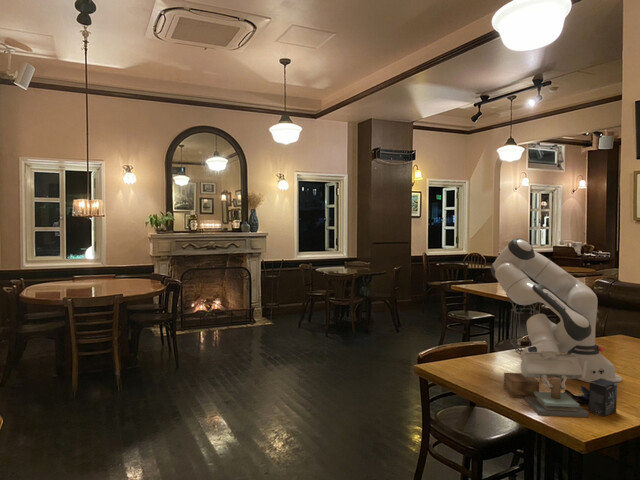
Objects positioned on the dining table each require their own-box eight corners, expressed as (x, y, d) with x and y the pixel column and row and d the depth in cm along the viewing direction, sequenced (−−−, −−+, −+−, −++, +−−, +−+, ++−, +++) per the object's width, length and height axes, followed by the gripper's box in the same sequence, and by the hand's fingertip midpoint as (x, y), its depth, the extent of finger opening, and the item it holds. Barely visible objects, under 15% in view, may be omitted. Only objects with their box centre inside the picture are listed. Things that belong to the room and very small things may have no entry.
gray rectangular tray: (571, 402, 168) (571, 398, 168) (588, 417, 155) (588, 412, 155) (525, 400, 170) (525, 396, 170) (538, 415, 157) (538, 410, 157)
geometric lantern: (547, 358, 225) (547, 287, 224) (513, 357, 227) (513, 287, 226) (536, 349, 241) (535, 282, 239) (504, 348, 243) (504, 282, 241)
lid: (565, 395, 167) (565, 373, 167) (579, 407, 156) (579, 383, 156) (533, 394, 168) (534, 372, 168) (545, 405, 157) (545, 382, 157)
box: (605, 417, 155) (605, 386, 155) (587, 411, 160) (588, 381, 160) (617, 412, 159) (617, 382, 159) (599, 406, 164) (600, 377, 164)
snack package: (577, 394, 178) (557, 398, 172) (580, 379, 176) (560, 382, 171) (607, 410, 167) (587, 415, 162) (611, 394, 166) (591, 398, 161)
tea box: (530, 388, 182) (530, 373, 182) (539, 397, 172) (539, 382, 172) (503, 387, 183) (503, 372, 183) (511, 396, 173) (511, 381, 173)
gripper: (572, 358, 172) (584, 393, 163) (516, 356, 174) (524, 391, 165) (578, 349, 167) (590, 385, 158) (520, 348, 170) (529, 383, 160)
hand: (556, 388), depth 161 cm, fingers closed on lid, 3 cm apart
